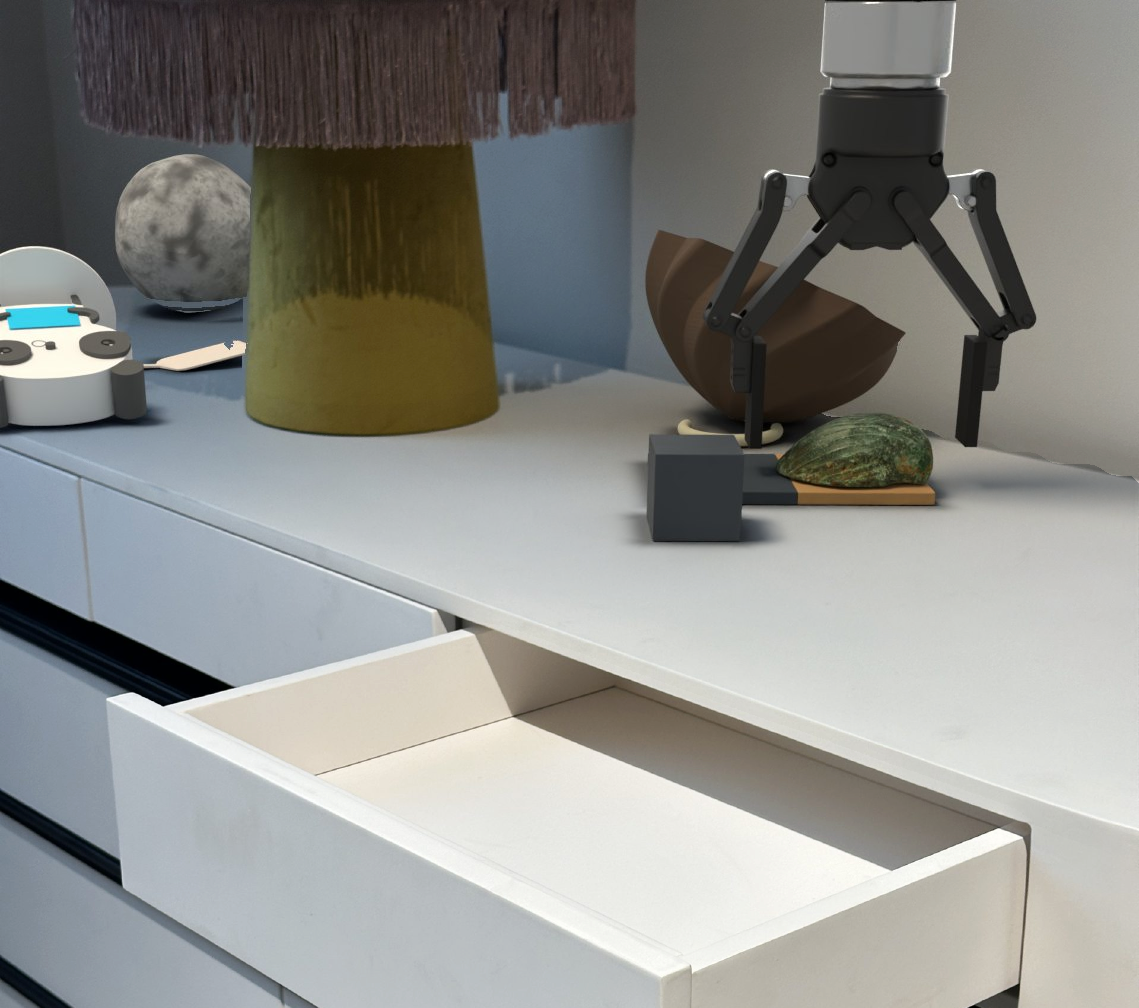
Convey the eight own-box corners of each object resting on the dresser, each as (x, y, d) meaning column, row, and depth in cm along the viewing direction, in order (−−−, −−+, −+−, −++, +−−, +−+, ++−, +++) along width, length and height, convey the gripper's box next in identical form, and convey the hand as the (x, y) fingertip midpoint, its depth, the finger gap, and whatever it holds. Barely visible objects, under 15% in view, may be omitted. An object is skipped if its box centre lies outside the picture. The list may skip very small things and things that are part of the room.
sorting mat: (900, 465, 113) (901, 454, 112) (934, 505, 104) (935, 492, 103) (647, 464, 112) (647, 452, 112) (659, 504, 103) (659, 491, 103)
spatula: (263, 365, 143) (261, 348, 142) (-100, 395, 129) (-103, 376, 128) (237, 356, 148) (235, 339, 147) (-116, 384, 134) (-118, 365, 133)
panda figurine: (118, 243, 128) (142, 323, 117) (129, 381, 135) (153, 469, 124) (-48, 248, 125) (-39, 332, 114) (-28, 390, 132) (-18, 481, 121)
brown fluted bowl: (961, 357, 119) (901, 489, 121) (800, 314, 135) (750, 431, 137) (759, 251, 108) (697, 398, 110) (610, 217, 124) (559, 346, 126)
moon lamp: (175, 138, 153) (249, 120, 166) (51, 208, 160) (131, 187, 173) (252, 291, 157) (319, 263, 170) (128, 354, 164) (201, 322, 177)
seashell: (841, 383, 112) (971, 408, 106) (839, 443, 114) (967, 471, 108) (746, 417, 106) (878, 445, 100) (746, 480, 108) (875, 512, 101)
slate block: (729, 517, 100) (734, 434, 98) (740, 541, 96) (744, 454, 94) (646, 517, 100) (649, 434, 98) (652, 540, 96) (655, 454, 94)
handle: (780, 449, 116) (783, 433, 121) (780, 437, 116) (784, 421, 121) (672, 445, 118) (679, 429, 122) (672, 433, 117) (679, 417, 122)
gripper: (1076, 80, 102) (1037, 428, 111) (666, 81, 102) (659, 431, 110) (1116, 85, 95) (1071, 455, 104) (677, 85, 95) (668, 458, 103)
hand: (859, 443), depth 107 cm, fingers open, 13 cm apart
